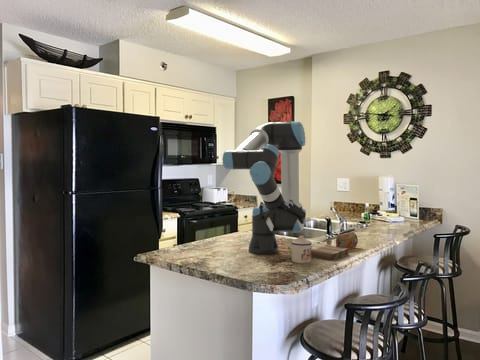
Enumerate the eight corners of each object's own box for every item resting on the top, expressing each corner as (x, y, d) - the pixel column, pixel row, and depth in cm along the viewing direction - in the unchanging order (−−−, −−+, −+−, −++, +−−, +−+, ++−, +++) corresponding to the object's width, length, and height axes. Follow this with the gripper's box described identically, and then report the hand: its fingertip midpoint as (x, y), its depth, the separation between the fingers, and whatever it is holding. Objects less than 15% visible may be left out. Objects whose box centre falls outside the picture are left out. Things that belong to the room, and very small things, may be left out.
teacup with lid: (303, 264, 171) (303, 238, 170) (287, 261, 177) (287, 235, 177) (318, 260, 179) (319, 235, 179) (302, 256, 186) (303, 232, 185)
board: (332, 260, 178) (332, 254, 178) (309, 256, 186) (310, 250, 186) (348, 254, 190) (348, 248, 190) (326, 250, 198) (326, 244, 198)
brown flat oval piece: (339, 251, 197) (339, 235, 197) (334, 250, 200) (334, 234, 200) (358, 248, 206) (358, 232, 206) (353, 246, 209) (353, 231, 208)
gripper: (240, 204, 155) (258, 235, 168) (300, 200, 144) (314, 234, 157) (244, 190, 159) (261, 222, 173) (303, 185, 149) (317, 219, 162)
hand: (287, 228), depth 165 cm, fingers open, 13 cm apart
